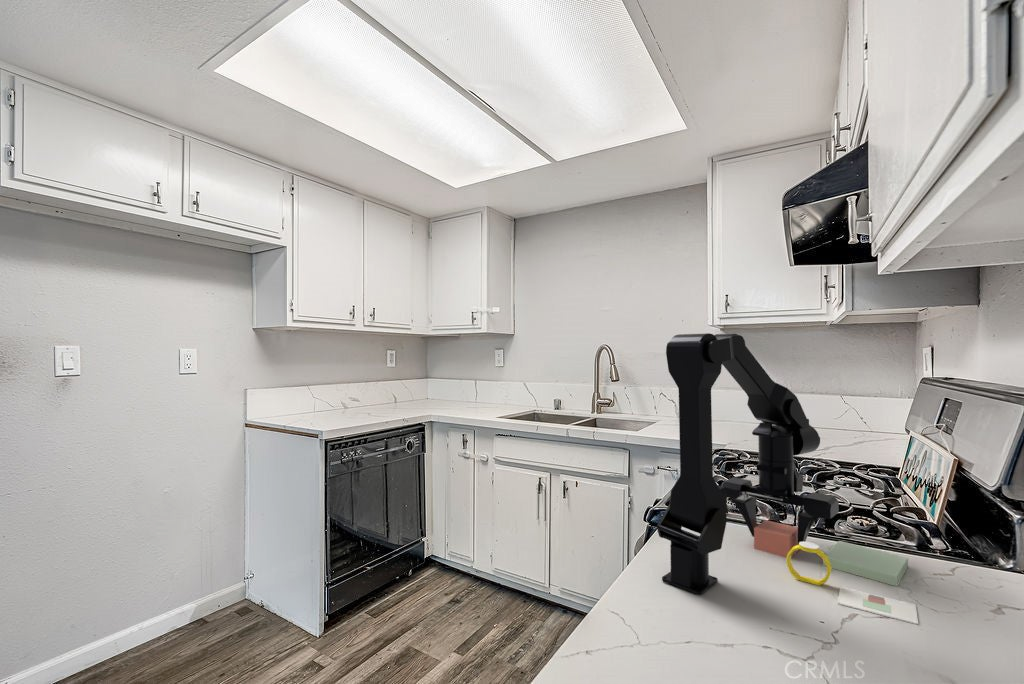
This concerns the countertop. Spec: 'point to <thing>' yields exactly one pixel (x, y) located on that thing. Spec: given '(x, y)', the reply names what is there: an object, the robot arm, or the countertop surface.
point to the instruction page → (878, 605)
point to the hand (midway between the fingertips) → (776, 542)
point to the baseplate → (867, 562)
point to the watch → (813, 549)
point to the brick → (775, 538)
